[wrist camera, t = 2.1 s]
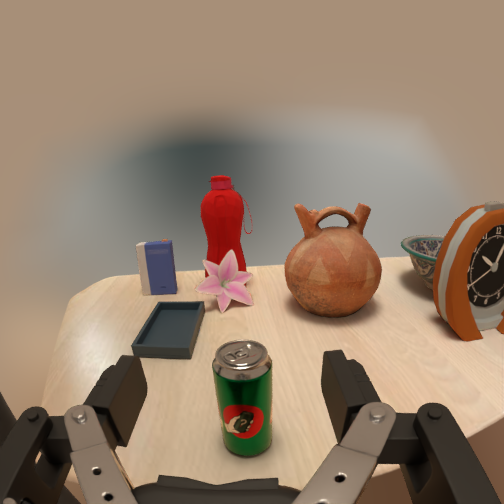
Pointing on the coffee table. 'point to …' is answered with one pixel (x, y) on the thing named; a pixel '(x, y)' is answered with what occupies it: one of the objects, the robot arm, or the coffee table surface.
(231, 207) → the water bottle
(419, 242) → the bowl
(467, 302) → the alarm clock
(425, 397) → the coffee table surface
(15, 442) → the robot arm
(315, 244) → the jug
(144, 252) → the walkman
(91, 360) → the coffee table surface
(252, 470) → the coffee table surface
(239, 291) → the lily
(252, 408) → the soda can
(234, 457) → the coffee table surface
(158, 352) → the tray
